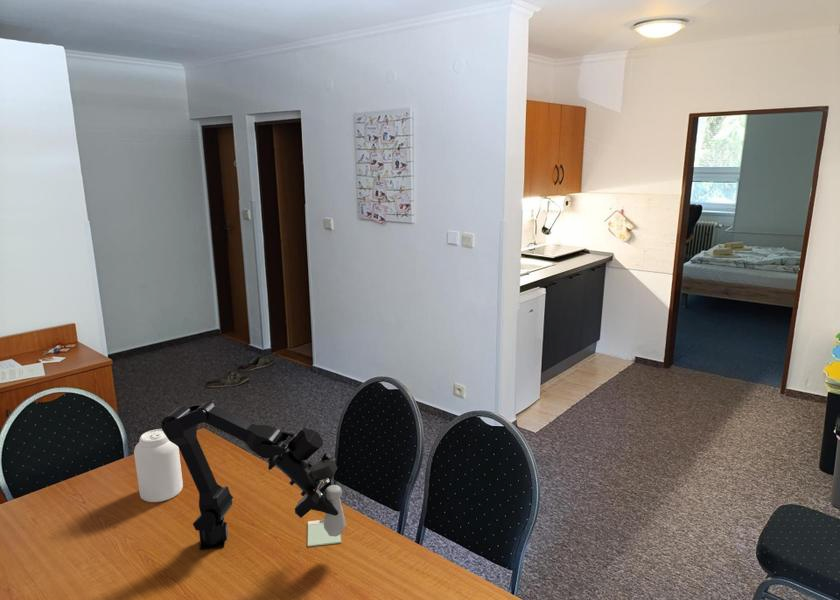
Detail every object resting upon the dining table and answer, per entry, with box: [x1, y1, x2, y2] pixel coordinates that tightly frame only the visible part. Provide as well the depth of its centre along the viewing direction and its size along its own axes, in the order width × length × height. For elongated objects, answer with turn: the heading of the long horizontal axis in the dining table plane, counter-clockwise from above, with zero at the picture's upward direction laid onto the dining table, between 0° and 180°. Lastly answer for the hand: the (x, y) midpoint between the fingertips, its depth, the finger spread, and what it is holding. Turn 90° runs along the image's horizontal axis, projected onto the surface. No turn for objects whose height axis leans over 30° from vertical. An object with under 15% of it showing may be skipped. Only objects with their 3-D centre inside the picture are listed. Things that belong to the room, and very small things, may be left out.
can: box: [133, 428, 184, 503], centre depth 178 cm, size 12×12×20 cm
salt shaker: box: [323, 484, 347, 537], centre depth 150 cm, size 6×6×13 cm
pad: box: [307, 519, 342, 548], centre depth 161 cm, size 9×11×1 cm
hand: (339, 510), depth 149 cm, fingers closed on salt shaker, 3 cm apart
